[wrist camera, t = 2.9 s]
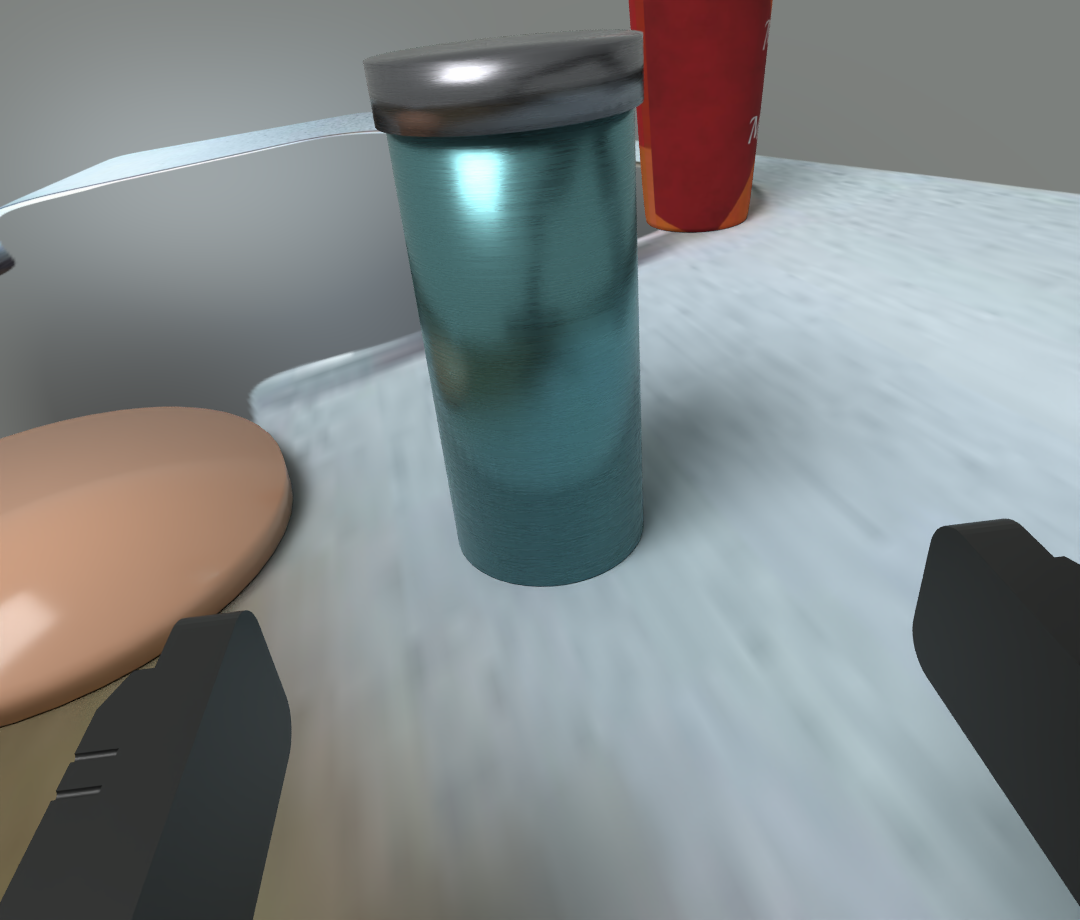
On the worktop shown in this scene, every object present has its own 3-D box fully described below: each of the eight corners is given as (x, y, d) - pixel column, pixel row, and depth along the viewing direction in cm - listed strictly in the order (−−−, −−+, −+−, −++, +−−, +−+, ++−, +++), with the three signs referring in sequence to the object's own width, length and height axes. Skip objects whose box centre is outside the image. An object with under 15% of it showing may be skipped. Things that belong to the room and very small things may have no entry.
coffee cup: (798, 215, 45) (826, -104, 37) (687, 248, 42) (691, -94, 34) (701, 192, 51) (707, -85, 43) (598, 219, 48) (584, -75, 40)
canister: (517, 455, 25) (467, 37, 19) (681, 494, 23) (686, 24, 16) (411, 556, 21) (302, 68, 15) (594, 617, 19) (556, 58, 12)
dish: (117, 404, 31) (107, 382, 31) (385, 478, 25) (379, 451, 24) (-336, 631, 21) (-361, 604, 21) (-86, 855, 15) (-113, 823, 14)
